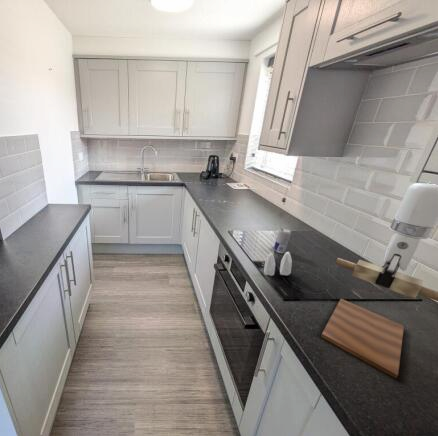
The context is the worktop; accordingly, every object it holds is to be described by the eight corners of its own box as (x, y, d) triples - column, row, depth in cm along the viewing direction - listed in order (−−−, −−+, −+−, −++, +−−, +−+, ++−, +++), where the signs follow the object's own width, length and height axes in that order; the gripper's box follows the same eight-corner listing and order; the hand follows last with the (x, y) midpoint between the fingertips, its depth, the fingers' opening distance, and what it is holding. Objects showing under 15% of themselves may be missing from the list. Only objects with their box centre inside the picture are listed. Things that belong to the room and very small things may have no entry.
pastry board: (339, 302, 84) (340, 298, 83) (401, 330, 73) (404, 326, 72) (320, 338, 69) (322, 333, 68) (395, 380, 58) (398, 375, 57)
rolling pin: (333, 268, 78) (337, 257, 76) (336, 264, 81) (340, 253, 79) (442, 309, 61) (450, 296, 60) (441, 302, 64) (450, 289, 62)
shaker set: (287, 272, 101) (294, 249, 96) (293, 277, 97) (300, 255, 93) (260, 270, 101) (266, 248, 97) (264, 276, 97) (270, 253, 93)
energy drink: (275, 247, 121) (281, 227, 116) (286, 251, 117) (292, 230, 113) (271, 251, 118) (277, 229, 113) (282, 255, 114) (289, 233, 109)
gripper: (430, 241, 56) (397, 301, 63) (430, 225, 66) (402, 277, 73) (387, 231, 61) (362, 287, 68) (394, 217, 72) (371, 267, 78)
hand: (383, 281), depth 71 cm, fingers closed on rolling pin, 4 cm apart
